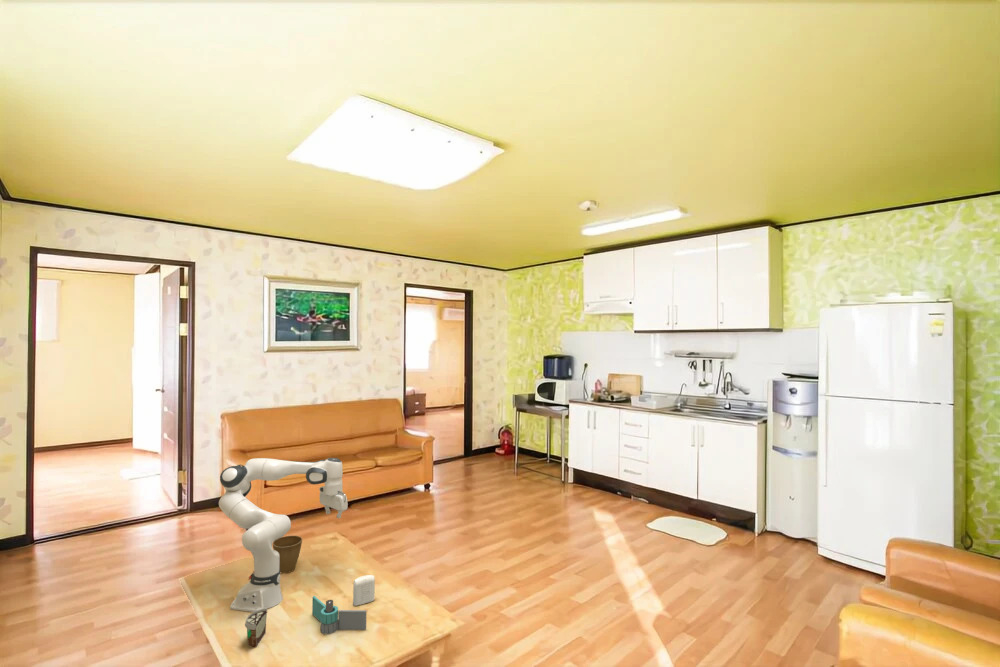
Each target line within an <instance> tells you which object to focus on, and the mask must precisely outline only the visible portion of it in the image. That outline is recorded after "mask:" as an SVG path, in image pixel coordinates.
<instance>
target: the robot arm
mask: <svg viewBox="0 0 1000 667" xmlns="http://www.w3.org/2000/svg"><path fill="white" fill-rule="evenodd" d="M296 474H297V475H305V479H306V481H307V482H308V483H309V484H310V485H315V486H316V485H319V484H324V485H322V486H319V488H318V490H319V503H320V505H323V506H324V510H325V514H326V515H330V514H331V509H334V510H336V511H337V514H336V518H337V519H341V518H342V513H343V512H345V511H347V510H348V505H349V504H348V498H347V497H348V496H347V495H346V494H345V492H343V487H344V486H343V474H344V473H343V462H342V460H341V459H340V458H338V457H328V458H326V459H319V460H316V461H295V460H293V461H292V460H284V459H277V458H269V457H263V458H262V457H257V458H251V459H248V460H247V461H246V462H245V464H244V465H243V464H237V465H233V466H232V465H231V466H227V467H226V468H224V469H223V470H222V471H221V473H220V474H219V475H220V476H219V481H220V484H221V486H222V487H223V488H224V489H225V493H224V494H222V496H221V497H220V499H219V500H218V507H219V508H220V510H221V512H222V513H224V515H225V516H227V518H229V519H230V520H231V521H232V522H234V524H236V525H237V526H238V527H240V528H242V529H247V530H246V531H244V532H243V534H242V536H241V544H242V546H243V548H244V549H245V550H247V551H249V552H250V553H251V554H252V558H253V572H252V573H250V576H248V582H247V583H245V584H244V585H243V586H242V587H241V588H240V589H238V590H239V591H238V592H237V595H236V598H234V599H233V601H232V602H231V603H230V610H234V611H243V612H251V613H253V612H255V611H258V610H262V609H267V610H268V609H270V608H273V607H275V606H277V605H278V604H280V603H282V601H283V599H284V598H283V594H282V590H281V583H280V582H281V572H280V568H279V565H280V555H279V553H278V552H277V551H276V550H273V542H274V541H275V540H277V539H279V538H281V537H284V536H286V534H287V533H288V532H289V531H290V530H291V527H292V522H291V519H290V517H289V516H287V514H280V513H279V514H278V513H273V512H270V511H268V510H264V509H263V508H261V507H259V506H257V505H256V504H255V503H253V502H252V501H250V500H249V499H248V498H247V497H246V496H248V495H249V493H250V492H251V489H252V483H251V482H253V481H257V480H260V481H271V482H272V481H279V480H281V479H283V478H286V477H288V476H291V475H296ZM330 508H331V509H330Z"/></svg>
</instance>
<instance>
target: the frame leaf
mask: <svg viewBox="0 0 1000 667" xmlns="http://www.w3.org/2000/svg"><path fill="white" fill-rule="evenodd" d="M366 630H367V610H366V609H365V610H364V609H353V610H351V609H338V620H337V621H336V622H334V623H331V624H323V623H322V622H320V633H321V634H323V635H331V634H333V633H336V631H366Z"/></svg>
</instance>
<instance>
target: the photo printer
mask: <svg viewBox="0 0 1000 667" xmlns="http://www.w3.org/2000/svg"><path fill="white" fill-rule="evenodd" d="M375 580H376V579H375V575H373V574H367V575H361V576H359V577H357V578H355V579H354V581H353V591H352V593H353V596H352V597H353V598H352V605H353V606H354V607H356V606H360V605H364V604H367V603H372V602H373V601H375V584H376V581H375Z"/></svg>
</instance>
